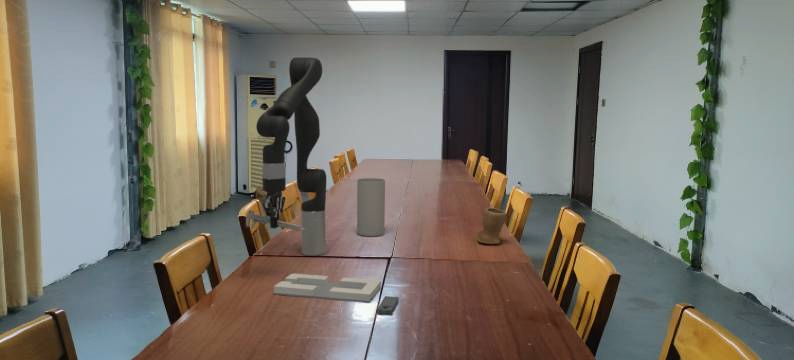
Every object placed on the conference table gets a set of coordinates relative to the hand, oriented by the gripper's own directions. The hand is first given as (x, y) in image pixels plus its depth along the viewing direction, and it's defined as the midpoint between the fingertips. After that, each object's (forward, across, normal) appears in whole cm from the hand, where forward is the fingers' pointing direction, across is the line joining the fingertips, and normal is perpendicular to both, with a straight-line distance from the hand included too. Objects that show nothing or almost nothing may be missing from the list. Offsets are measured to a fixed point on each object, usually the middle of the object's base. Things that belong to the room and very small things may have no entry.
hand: (274, 227), depth 184 cm
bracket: (+17, +22, +44) cm, 52 cm away
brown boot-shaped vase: (+18, -69, +69) cm, 99 cm away
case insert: (+16, +12, +23) cm, 31 cm away
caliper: (+1, 0, 0) cm, 1 cm away
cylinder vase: (+18, -70, +15) cm, 73 cm away
